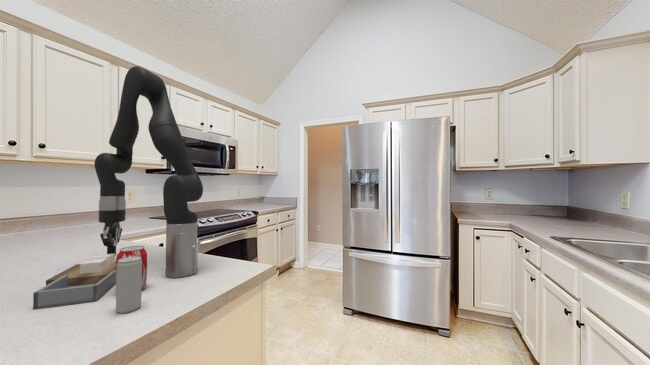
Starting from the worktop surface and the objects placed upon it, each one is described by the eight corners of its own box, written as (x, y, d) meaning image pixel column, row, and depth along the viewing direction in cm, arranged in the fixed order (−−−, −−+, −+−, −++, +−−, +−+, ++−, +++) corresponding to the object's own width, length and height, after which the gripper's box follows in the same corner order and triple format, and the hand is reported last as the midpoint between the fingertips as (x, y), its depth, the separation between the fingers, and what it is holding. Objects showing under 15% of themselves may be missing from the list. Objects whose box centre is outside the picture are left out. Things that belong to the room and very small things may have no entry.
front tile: (107, 267, 83) (107, 258, 84) (100, 272, 79) (101, 262, 79) (88, 269, 82) (88, 259, 82) (79, 273, 77) (80, 263, 77)
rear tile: (114, 262, 89) (114, 253, 89) (108, 266, 84) (108, 257, 84) (96, 263, 87) (96, 254, 87) (89, 268, 83) (89, 258, 83)
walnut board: (133, 268, 92) (133, 259, 92) (116, 283, 77) (116, 273, 77) (76, 273, 86) (76, 264, 86) (45, 291, 71) (45, 280, 71)
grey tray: (116, 283, 77) (116, 270, 77) (96, 301, 65) (96, 285, 65) (64, 289, 73) (64, 275, 73) (33, 309, 61) (33, 292, 61)
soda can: (112, 298, 67) (113, 252, 68) (118, 288, 74) (119, 246, 74) (144, 293, 71) (145, 249, 71) (148, 284, 77) (149, 244, 77)
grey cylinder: (125, 304, 63) (126, 256, 64) (145, 304, 64) (146, 256, 64) (110, 314, 59) (111, 262, 59) (132, 313, 59) (133, 261, 59)
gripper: (118, 209, 88) (117, 260, 88) (131, 207, 101) (130, 251, 100) (90, 210, 85) (89, 262, 85) (107, 207, 98) (106, 253, 97)
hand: (111, 256), depth 93 cm, fingers closed
